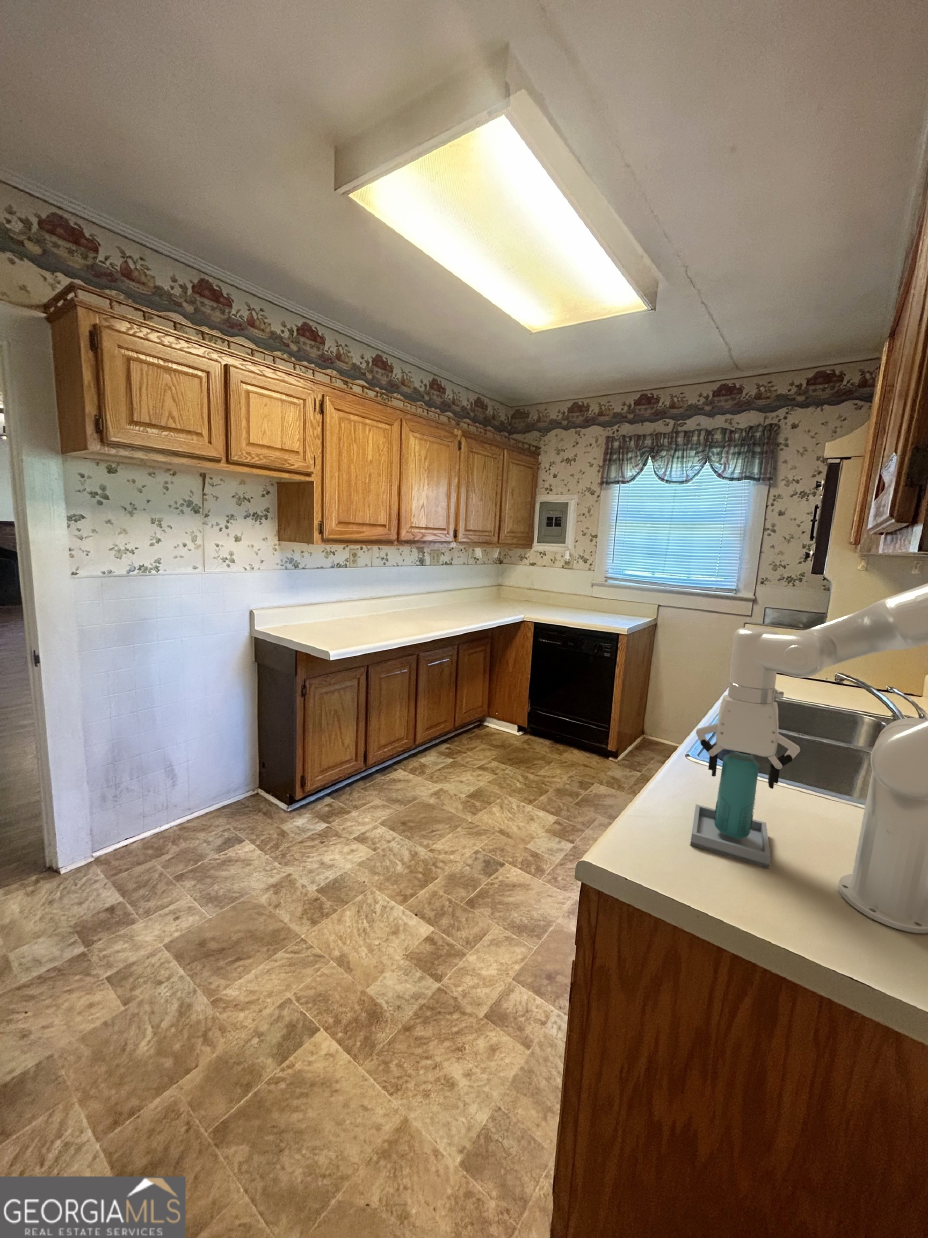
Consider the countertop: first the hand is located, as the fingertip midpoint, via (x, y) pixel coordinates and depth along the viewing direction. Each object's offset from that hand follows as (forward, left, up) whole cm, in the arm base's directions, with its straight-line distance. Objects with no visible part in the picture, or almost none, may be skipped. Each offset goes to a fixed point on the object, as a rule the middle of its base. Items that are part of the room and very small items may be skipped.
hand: (741, 779), depth 96 cm
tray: (+1, 0, -13) cm, 13 cm away
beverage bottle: (+1, 0, -12) cm, 12 cm away
